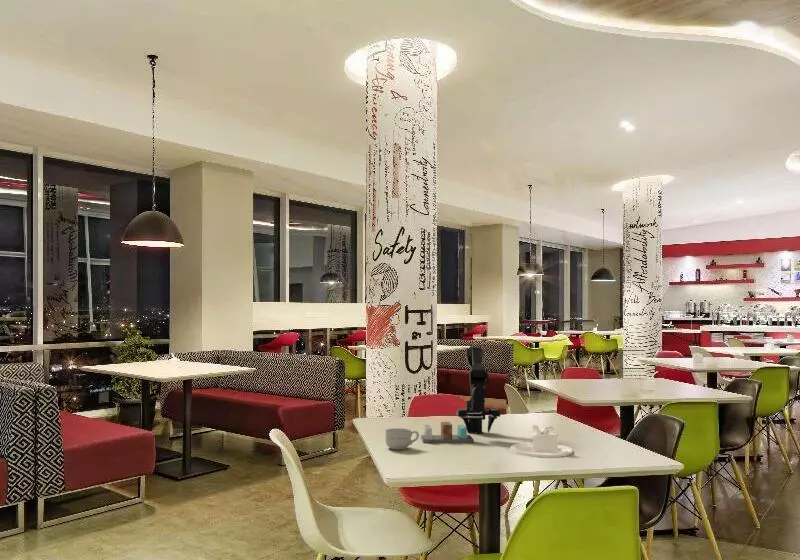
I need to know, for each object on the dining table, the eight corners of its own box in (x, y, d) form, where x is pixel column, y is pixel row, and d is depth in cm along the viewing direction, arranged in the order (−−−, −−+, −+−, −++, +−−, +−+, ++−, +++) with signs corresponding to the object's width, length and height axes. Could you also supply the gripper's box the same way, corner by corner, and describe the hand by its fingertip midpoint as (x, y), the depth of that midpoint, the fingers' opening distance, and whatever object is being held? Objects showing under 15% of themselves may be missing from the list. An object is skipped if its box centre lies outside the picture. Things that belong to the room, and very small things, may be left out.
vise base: (469, 438, 290) (469, 424, 290) (473, 442, 280) (473, 428, 280) (421, 438, 288) (421, 424, 289) (423, 442, 278) (423, 428, 279)
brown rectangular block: (449, 435, 288) (449, 421, 289) (452, 438, 280) (452, 424, 281) (440, 435, 288) (440, 421, 288) (443, 438, 280) (443, 424, 280)
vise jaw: (463, 434, 290) (463, 424, 290) (466, 438, 280) (466, 428, 280) (457, 434, 289) (457, 424, 290) (460, 438, 279) (460, 428, 280)
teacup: (381, 450, 263) (381, 430, 264) (390, 445, 273) (390, 426, 274) (413, 452, 258) (413, 432, 259) (421, 447, 269) (422, 428, 269)
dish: (583, 457, 254) (582, 428, 255) (522, 459, 250) (522, 429, 251) (557, 444, 278) (557, 418, 279) (502, 446, 274) (502, 419, 275)
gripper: (495, 394, 294) (495, 429, 294) (454, 394, 293) (454, 429, 292) (500, 397, 283) (500, 433, 283) (458, 397, 282) (458, 433, 281)
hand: (478, 432), depth 285 cm, fingers open, 9 cm apart
